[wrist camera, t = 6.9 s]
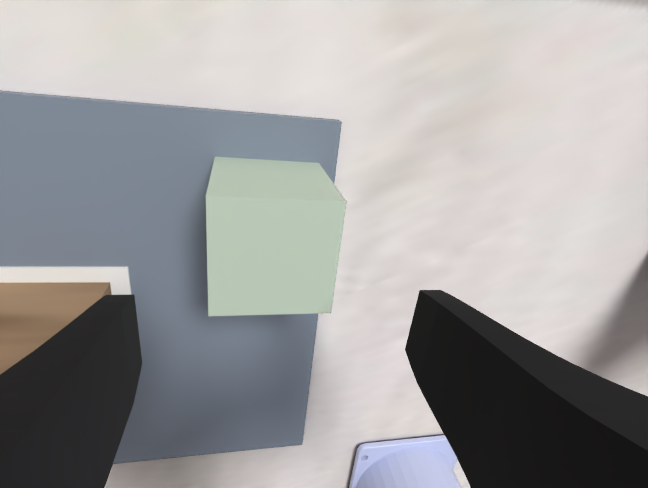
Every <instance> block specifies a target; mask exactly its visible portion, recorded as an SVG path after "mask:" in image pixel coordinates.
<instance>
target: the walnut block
mask: <svg viewBox="0 0 648 488" xmlns="http://www.w3.org/2000/svg"><path fill="white" fill-rule="evenodd" d="M105 295H112V293H111V286H110V282H41V283H0V374H2V373H3V372H5V371H6V370H7V369H9V368H10V367H12V366H13V365H14V364H16V363H17V362H19V361H20V360H21V359H23V358H24V357H26V356H27V355H29V354H30V353H31V352H33V351H34V350H35V349H37V348H38V347H39V346H41V345H42V344H43V343H45V342H46V341H47V340H48V339H50V338H51V337H52V336H54V335H55V334H56V333H58V332H59V331H60V330H61V329H63V328H64V327H65V326H67V325H68V324H69V323H70V322H72V321H73V320H74V319H75V318H77V317H78V316H79V315H80V314H82V313H83V312H84V311H85V310H87V309H88V308H89V307H90V306H92V305H93V304H94V303H95V302H97V301H98V300H99V299H101V298H102V297H103V296H105Z"/></svg>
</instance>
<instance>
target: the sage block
mask: <svg viewBox="0 0 648 488" xmlns="http://www.w3.org/2000/svg"><path fill="white" fill-rule="evenodd" d="M346 202H347V201H346V200H345V198H344V197H343V196H342V194H341V193H340V192H339V190H338V189H337V187H336V186H335V185H334V183H333V182H332V180H331V179H330V178H329V176H328V175H327V174H326V172H325V171H324V169H323V168H322V167H321V165H320V164H319V163H312V162H295V161H279V160H262V159H246V158H229V157H215V158H214V162H213V167H212V171H211V175H210V180H209V184H208V188H207V192H206V232H207V278H208V316H238V315H276V314H314V313H331V310H332V303H333V296H334V288H335V281H336V274H337V267H338V260H339V252H340V245H341V238H342V231H343V224H344V216H345V209H346Z"/></svg>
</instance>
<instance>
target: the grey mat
mask: <svg viewBox="0 0 648 488" xmlns="http://www.w3.org/2000/svg"><path fill="white" fill-rule="evenodd" d="M341 123H342V122H341V121H339V120H334V119H323V118H311V117H299V116H288V115H276V114H265V113H253V112H241V111H230V110H218V109H207V108H195V107H183V106H172V105H160V104H149V103H137V102H126V101H114V100H102V99H91V98H79V97H68V96H56V95H44V94H33V93H21V92H10V91H0V283H41V282H110V286H111V293H112V295H133V294H134V296H135V305H136V313H137V322H138V330H139V339H140V347H141V356H142V367H141V372H140V377H139V382H138V386H137V391H136V395H135V400H134V404H133V407H132V410H131V413H130V416H129V419H128V421H127V424H126V427H125V430H124V433H123V436H122V439H121V442H120V444H119V447H118V450H117V453H116V456H115V459H114V461H113V464H116V463H126V462H136V461H146V460H156V459H165V458H175V457H185V456H195V455H205V454H215V453H225V452H235V451H244V450H254V449H264V448H274V447H284V446H294V445H302V442H303V434H304V426H305V418H306V410H307V401H308V393H309V385H310V377H311V369H312V360H313V352H314V344H315V336H316V328H317V320H318V313H314V314H276V315H238V316H208V278H207V232H206V192H207V188H208V184H209V180H210V175H211V171H212V167H213V162H214V158H215V157H229V158H246V159H262V160H279V161H295V162H312V163H319V164H320V165H321V167H322V168H323V169H324V171H325V172H326V174H327V175H328V176H329V178H330V179H331V180H332V182H333V183H334V180H335V172H336V164H337V156H338V148H339V139H340V131H341Z"/></svg>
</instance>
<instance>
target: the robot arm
mask: <svg viewBox="0 0 648 488" xmlns="http://www.w3.org/2000/svg"><path fill="white" fill-rule="evenodd" d="M405 351H406V354H407V356H408V359H409V362H410V365H411V368H412V371H413V373H414V376H415V378H416V381H417V383H418V385H419V387H420V389H421V391H422V393H423V395H424V397H425V399H426V401H427V403H428V405H429V407H430V408H431V410H432V412H433V414H434V416H435V418H436V420H437V422H438V423H439V425H440V427H441V429H442V431H443V433H444V435H440V436H431V437H421V438H411V439H402V440H392V441H383V442H373V443H364V444H361V445H360V446H359V447H358V449H357V452H356V457H355V462H354V467H353V471H352V476H351V481H350V486H349V488H462V487H461V485H460V483H459V481H458V479H457V477H456V475H455V473H454V471H453V469H454V466H455V464H456V461H457V459H458V461H459V463H460V465H461V467H462V469H463V471H464V473H465V475H466V477H467V480H468V482H469V484H470V487H471V488H648V396H645V395H643V394H640V393H638V392H635V391H633V390H630V389H628V388H625V387H623V386H621V385H618V384H616V383H614V382H611V381H609V380H607V379H604V378H602V377H600V376H598V375H596V374H594V373H592V372H589V371H587V370H585V369H583V368H581V367H579V366H576V365H574V364H572V363H570V362H568V361H566V360H564V359H562V358H560V357H558V356H556V355H555V354H553V353H551V352H549V351H547V350H545V349H543V348H542V347H540V346H538V345H536V344H534V343H532V342H530V341H529V340H527V339H525V338H523V337H522V336H520V335H518V334H516V333H515V332H513V331H511V330H509V329H508V328H506V327H504V326H503V325H501V324H499V323H498V322H496V321H494V320H493V319H491V318H489V317H488V316H486V315H484V314H483V313H481V312H479V311H477V310H476V309H474V308H472V307H471V306H469V305H467V304H466V303H464V302H462V301H460V300H459V299H457V298H455V297H453V296H451V295H450V294H448V293H445V292H443V291H441V290H420V292H419V296H418V300H417V304H416V308H415V312H414V316H413V320H412V324H411V328H410V332H409V336H408V340H407V344H406V348H405ZM141 367H142V356H141V347H140V339H139V330H138V322H137V313H136V305H135V296H134V294H133V295H105V296H103V297H102V298H101V299H99V300H98V301H97V302H95V303H94V304H93V305H92V306H90V307H89V308H88V309H87V310H85V311H84V312H83V313H82V314H80V315H79V316H78V317H77V318H75V319H74V320H73V321H72V322H70V323H69V324H68V325H67V326H65V327H64V328H63V329H61V330H60V331H59V332H58V333H56V334H55V335H54V336H52V337H51V338H50V339H48V340H47V341H46V342H45V343H43V344H42V345H41V346H39V347H38V348H37V349H35V350H34V351H33V352H31V353H30V354H29V355H27V356H26V357H24V358H23V359H21V360H20V361H19V362H17V363H16V364H14V365H13V366H12V367H10V368H9V369H7V370H6V371H5V372H3V373H2V374H0V488H104V487H105V484H106V481H107V478H108V476H109V473H110V470H111V467H112V464H113V461H114V459H115V456H116V453H117V450H118V447H119V444H120V442H121V439H122V436H123V433H124V430H125V427H126V424H127V421H128V419H129V416H130V413H131V410H132V407H133V404H134V400H135V395H136V391H137V386H138V382H139V377H140V372H141Z"/></svg>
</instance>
